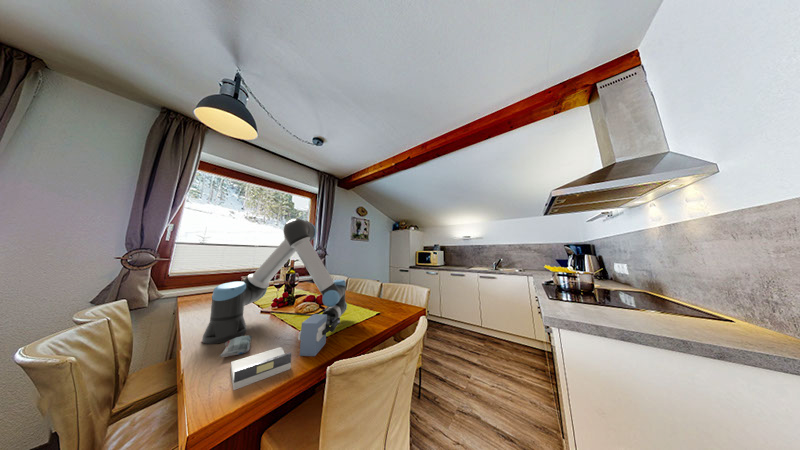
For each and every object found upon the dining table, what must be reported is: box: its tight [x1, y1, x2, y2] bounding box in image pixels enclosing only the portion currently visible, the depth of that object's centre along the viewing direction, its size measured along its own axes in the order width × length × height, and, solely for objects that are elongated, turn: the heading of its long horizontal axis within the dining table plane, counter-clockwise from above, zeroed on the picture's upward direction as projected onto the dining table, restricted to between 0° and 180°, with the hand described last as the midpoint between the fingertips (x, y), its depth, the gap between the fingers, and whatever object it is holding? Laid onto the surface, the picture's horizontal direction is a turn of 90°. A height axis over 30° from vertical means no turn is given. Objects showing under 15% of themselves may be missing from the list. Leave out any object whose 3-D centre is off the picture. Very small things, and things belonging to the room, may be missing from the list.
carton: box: [299, 313, 327, 357], centre depth 81 cm, size 6×10×12 cm, turn 178°
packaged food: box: [219, 335, 252, 358], centre depth 78 cm, size 9×12×5 cm
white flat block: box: [230, 346, 292, 391], centre depth 67 cm, size 14×15×5 cm
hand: (308, 336), depth 76 cm, fingers open, 6 cm apart
